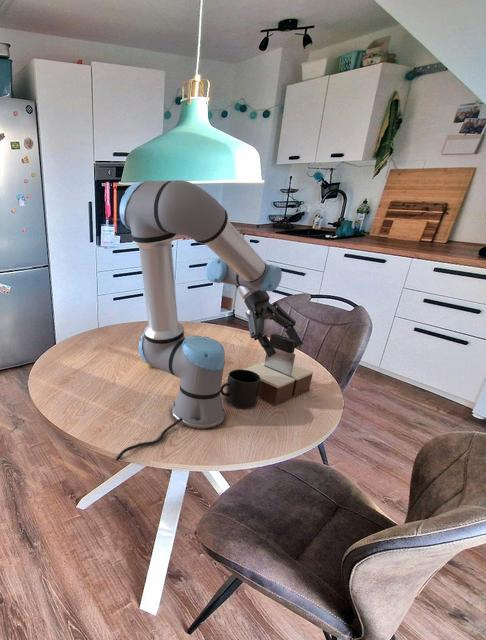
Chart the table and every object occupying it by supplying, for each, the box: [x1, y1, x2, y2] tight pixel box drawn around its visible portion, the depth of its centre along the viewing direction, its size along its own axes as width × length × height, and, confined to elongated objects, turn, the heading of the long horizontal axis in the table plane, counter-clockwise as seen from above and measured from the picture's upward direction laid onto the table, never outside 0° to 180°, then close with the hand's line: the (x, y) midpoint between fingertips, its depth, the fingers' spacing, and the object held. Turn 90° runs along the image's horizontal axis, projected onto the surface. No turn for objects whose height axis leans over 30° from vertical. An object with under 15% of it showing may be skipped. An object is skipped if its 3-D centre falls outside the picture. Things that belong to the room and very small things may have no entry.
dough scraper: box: [264, 333, 296, 377], centre depth 125 cm, size 2×10×12 cm, turn 32°
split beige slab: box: [241, 361, 314, 406], centre depth 129 cm, size 18×14×7 cm
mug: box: [220, 368, 260, 409], centre depth 121 cm, size 9×12×9 cm
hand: (286, 350), depth 123 cm, fingers open, 13 cm apart
